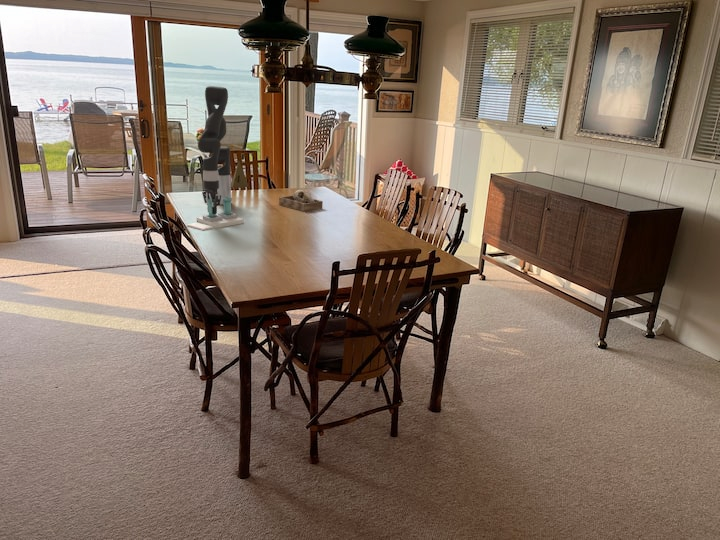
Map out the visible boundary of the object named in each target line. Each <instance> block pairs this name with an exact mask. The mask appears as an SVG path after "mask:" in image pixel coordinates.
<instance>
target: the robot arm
mask: <svg viewBox="0 0 720 540" xmlns="http://www.w3.org/2000/svg"><path fill="white" fill-rule="evenodd" d="M204 95H205V96H204V98H205V104H206V109H207V110H206V111H207V116H208V117H207V119H206V120H205V125H204V131H203V133H202V134H201V136H200V138H199V139H198V142H197V148H198V150H199V152H201V153H205V154H207V153H209V154H210V156H209V157H203V159H202V169H203V171H202V182H203V183H202V185H203V189H204V190H205V191H202V192H201V193H202V198H203V201H204V204H205V205H206V206H208V202H207V199H210V200H211V202H212V213H213V214H218V207H219V206H220V205H222V206H224V201H222V198H224V197H230V198H232V187H231V182H232V179H231V177H232V176H231V148H230V147H229V146H222V144H221V141H222V140H223V139H224V137H225V136H226V134H227V121H226V119H225V117H224V114H225V110H226V108H227V105H228V101H229V92H228V88H226V87H223V86H217V85H216V86H215V85H207V86H206V87H205V89H204ZM216 106H218V107H216ZM218 163H224V164H223V165H222V166H218V165H219V164H218ZM214 199H215V200H214ZM213 200H214V201H213ZM207 213H209V210H208V209H207Z"/></svg>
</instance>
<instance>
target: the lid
mask: <svg viewBox="0 0 720 540" xmlns="http://www.w3.org/2000/svg"><path fill="white" fill-rule="evenodd" d="M186 226H187V227H189V228H193V229H196V230H200V231H206V230H212V229H214V227H212V226H208V225H206V224H203V223H200V222H197V221H196V222H192V223H187V224H186Z"/></svg>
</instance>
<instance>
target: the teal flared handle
mask: <svg viewBox="0 0 720 540" xmlns="http://www.w3.org/2000/svg"><path fill="white" fill-rule="evenodd" d="M222 201H224V205H223V213H224V215H231V212H232V201H233V198H232V197H231V198H230V197H224V198H222Z"/></svg>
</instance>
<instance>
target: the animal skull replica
mask: <svg viewBox="0 0 720 540" xmlns="http://www.w3.org/2000/svg"><path fill="white" fill-rule="evenodd" d="M292 195H293V198H294V199H295V200H294V201H297V202H301V203H305V204H306V203H312V202H315V201H314V199H315V198H313V196H312V194H311V192H309V191H308V190H304V189H298V190H296V191H294V193H293V194H292Z"/></svg>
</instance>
